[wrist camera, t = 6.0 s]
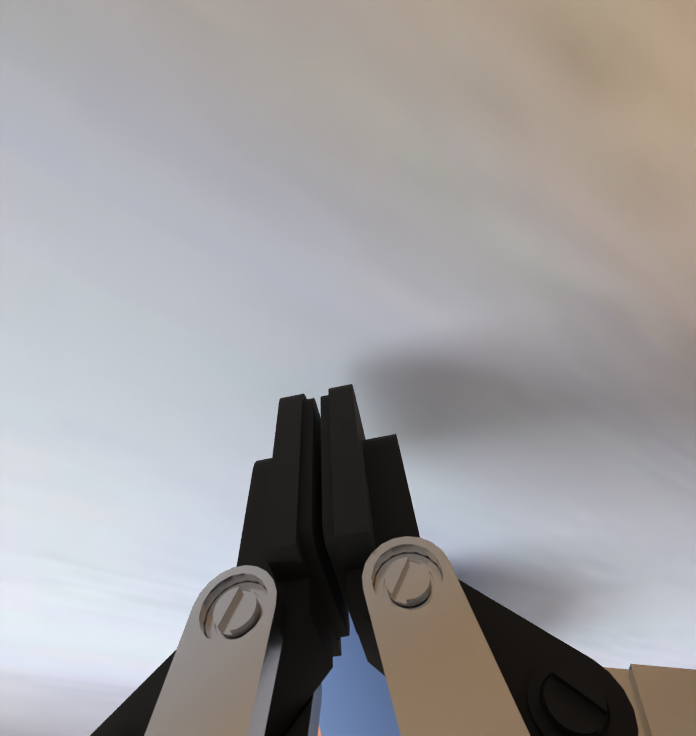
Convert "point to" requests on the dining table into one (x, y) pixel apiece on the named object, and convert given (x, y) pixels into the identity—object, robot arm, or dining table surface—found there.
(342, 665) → the ball
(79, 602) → the dining table surface
